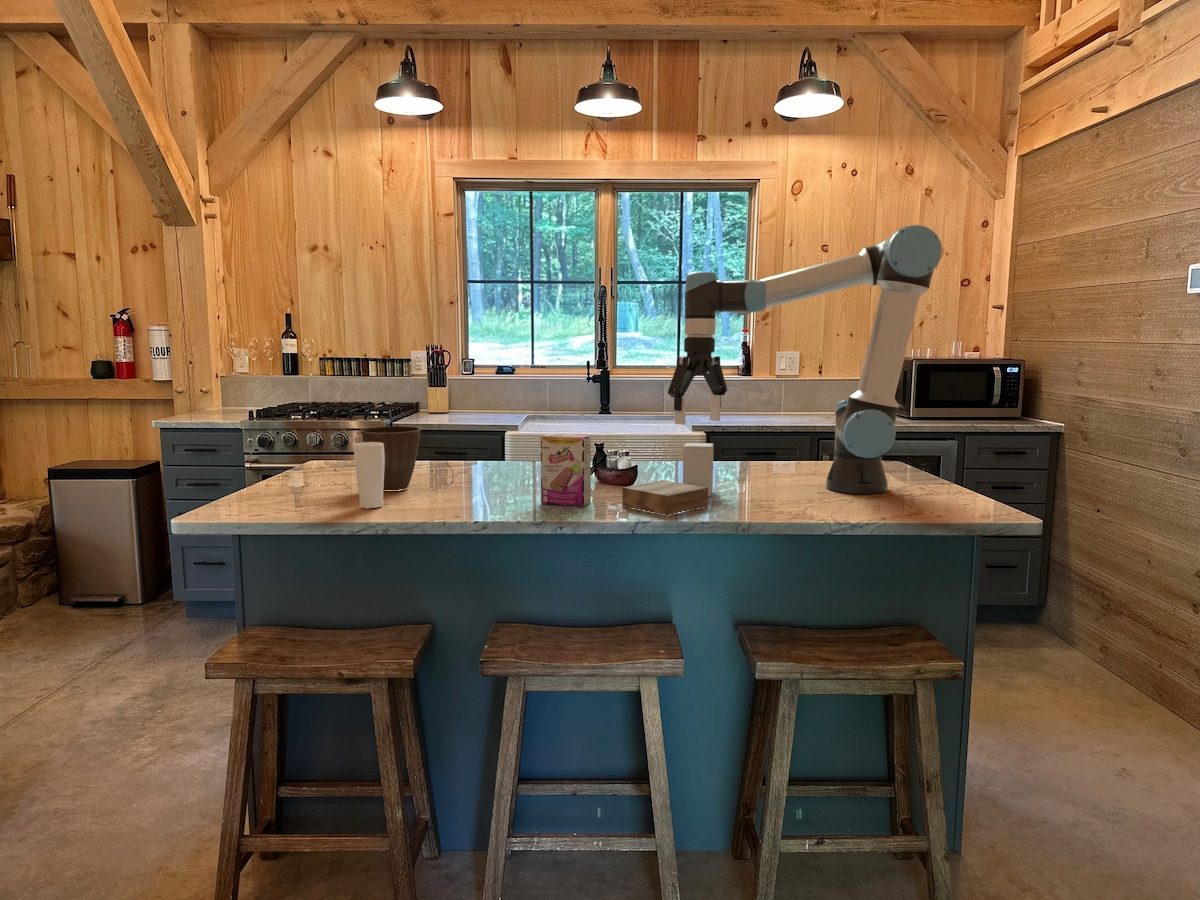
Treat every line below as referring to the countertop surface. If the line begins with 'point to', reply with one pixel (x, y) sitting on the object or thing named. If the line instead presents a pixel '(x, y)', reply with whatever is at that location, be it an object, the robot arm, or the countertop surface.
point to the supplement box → (698, 465)
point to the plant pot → (396, 452)
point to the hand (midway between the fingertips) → (697, 422)
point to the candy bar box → (565, 469)
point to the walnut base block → (665, 497)
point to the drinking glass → (370, 473)
